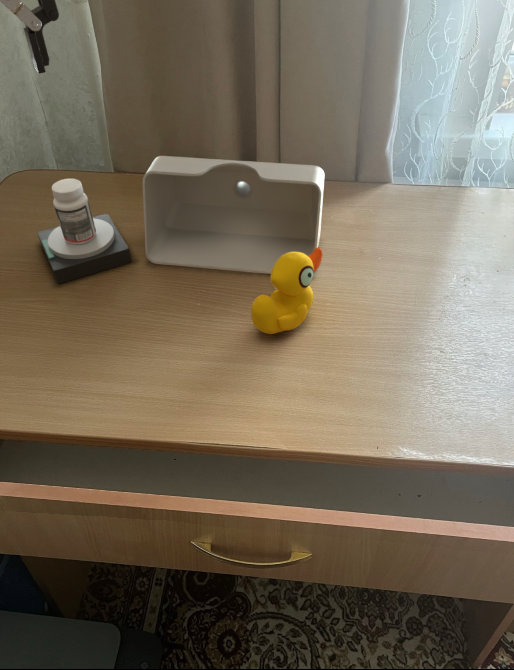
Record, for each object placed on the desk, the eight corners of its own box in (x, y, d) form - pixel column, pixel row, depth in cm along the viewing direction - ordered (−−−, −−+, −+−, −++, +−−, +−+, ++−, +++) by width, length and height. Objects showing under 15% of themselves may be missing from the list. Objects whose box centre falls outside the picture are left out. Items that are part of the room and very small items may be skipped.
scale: (58, 284, 79) (52, 266, 77) (41, 245, 86) (35, 227, 84) (132, 261, 82) (128, 243, 80) (110, 226, 89) (106, 208, 87)
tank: (323, 217, 90) (328, 144, 81) (314, 277, 79) (319, 200, 70) (175, 206, 93) (165, 134, 85) (145, 262, 82) (131, 186, 73)
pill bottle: (71, 226, 84) (56, 175, 78) (101, 228, 83) (88, 177, 77) (59, 244, 80) (42, 192, 75) (90, 246, 80) (76, 194, 74)
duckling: (302, 292, 77) (305, 230, 70) (331, 310, 74) (337, 248, 67) (241, 331, 71) (238, 269, 64) (270, 353, 68) (270, 290, 61)
